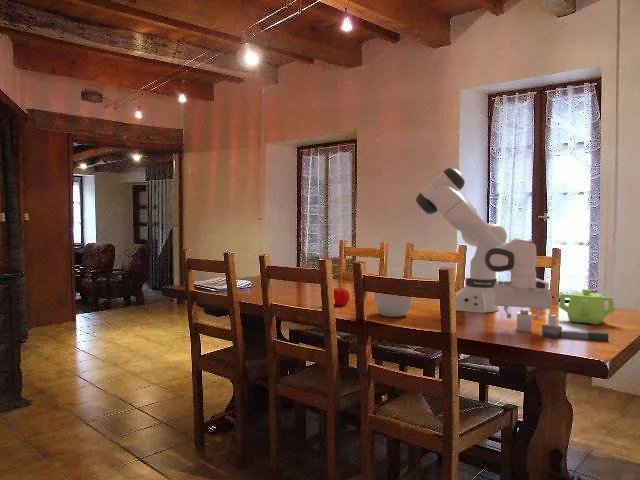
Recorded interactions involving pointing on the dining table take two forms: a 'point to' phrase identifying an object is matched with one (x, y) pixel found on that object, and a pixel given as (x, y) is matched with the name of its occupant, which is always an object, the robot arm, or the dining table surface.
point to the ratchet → (570, 332)
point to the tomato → (341, 296)
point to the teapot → (586, 307)
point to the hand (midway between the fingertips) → (522, 319)
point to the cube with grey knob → (524, 320)
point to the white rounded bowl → (392, 305)
